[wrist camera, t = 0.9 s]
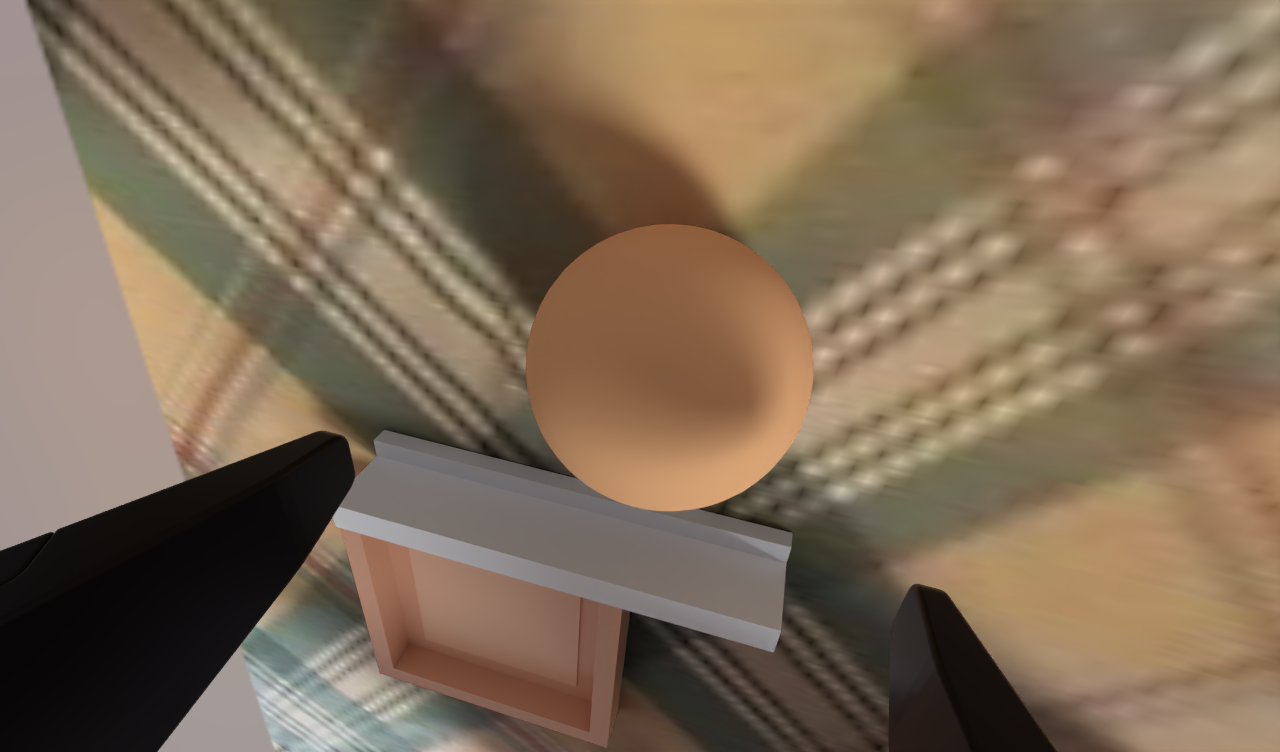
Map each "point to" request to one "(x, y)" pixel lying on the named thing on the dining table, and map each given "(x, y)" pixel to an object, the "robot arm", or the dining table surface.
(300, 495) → the robot arm
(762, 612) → the wall
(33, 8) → the dining table surface
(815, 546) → the dining table surface
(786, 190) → the dining table surface
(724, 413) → the ball
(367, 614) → the dish
